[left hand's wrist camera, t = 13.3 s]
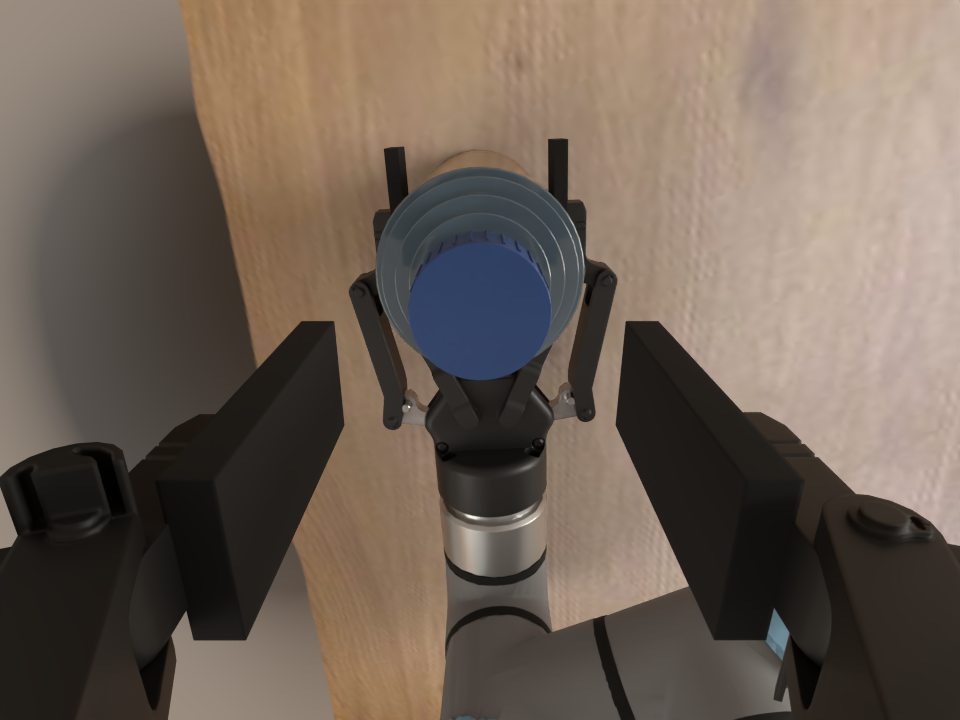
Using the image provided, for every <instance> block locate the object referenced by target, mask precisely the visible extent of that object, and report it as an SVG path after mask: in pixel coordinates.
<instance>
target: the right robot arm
mask: <svg viewBox="0 0 960 720" xmlns="http://www.w3.org/2000/svg"><path fill="white" fill-rule="evenodd" d="M384 155H385V164H386V174H387V183H388V193H389V203H390V209H380V210H378V211H377V212H376V213H375V216H374V220H373V226H374V235H375V244H376V252H377V250H378V245H379V242H380V239H381V235H382V232H383V230H384V228H385V226H386V224H387V222H388V220H389V218H390V217H391V215H392V214H393V212H394V210H395V209H396V208H397V207H398V205H399V204H400V203H401V202H402V201H403V200H404V198H405V197H406V196H408V184H407V173H406V162H405V151H404V147H390V148H386V149H384ZM548 191H549V193H550V194H551V195H552V196H553V197H554V198H555V199H556V200H557V201H558V202H559V203H560V204H561V205H562V207H563V208H564V209H565V211H566V212H567V213H568V215H569V217H570V219H571V220H572V222H573V224H574V226H575V228H576V231H577V233H578V236H579V238H580V242H581V246H582V250H583V257H584V283H586V284H587V285H586V289H585V294H584V298H583V303H582V308H581V312H580V317H579V321H578V326H577V331H576V335H575V340H574V344H573V349H572V354H571V358H570V363H569V369H568V383H564V384H563V385H561V386H560V388H559V392H558V396H557V397H556V398H555V399H554V400H552V401H549V400H548V398H547V397H546V396H545V395H544V394H543V392H542V391H541V390H540V389H539V388H538V386H537V385H536V383H537V380H538V378H539V376H540V373H541V369H542V365H543V363H544V361H545V359H546V357H547V355H548V353H549V351H550V348H551V346H552V344H553V343H552V344H551V345H550V346H549V347H548V348H547V349H546V350H544V351H543V352H542V353H540V354H539V355H537V356H536V357H534V358H532V359H531V360H530V361H529V362H528V363H527V364H526V365H524V366H523V367H522V368H520V369H518V370H517V371H515V372H513V373H511V374H508V375H506V376H503V377H500V378H496V379H490V380H469V379H464V378H460V377H457V376H454V375H451V374H449V373H447V372H445V371H443V370H442V369H440V368H438V367H437V366H436V365H434V364H433V363H432V362H431V361H430V360H429V359H428V358H426V357H424V356H423V355H422V357H423V358H424V360H425V362H426V363H427V365H428V367H429V368H430V370H431V372H432V376H433V379H434V381H435V383H436V384H437V386H438V388H439V390H438V392H437V393H436V395H435V396H434V398H433V399H432V400H431V402H430V403H429V405H428V406H424V405H422V404H421V403H420V402H419V400H418V396H417V394H416V393H415V392H414V391H413V390H411V389H409V390H408V389H407V378H406V374H405V370H404V367H403V364H402V361H401V358H400V355H399V351H398V348H397V345H396V342H395V339H394V336H393V333H392V329H391V326H390V323H389V320H388V317H387V315H386V313H385V311H384V309H383V306H382V304H381V301H380V298H379V293H378V289H377V283H376V269H375V270H373V271H371V272H368V273H363V274H361V275H360V276H359V277H358V278H357V279H356V281H355V282H354V283H353V284H352V286H351V287H350V289H349V295H350V298H351V301H352V304H353V307H354V310H355V313H356V316H357V318H358V321H359V324H360V327H361V330H362V333H363V336H364V339H365V342H366V345H367V348H368V351H369V354H370V357H371V360H372V363H373V366H374V369H375V372H376V375H377V378H378V380H379V383H380V386H381V389H382V392H383V395H384V412H383V424H384V425H385V427H386V428H388V429H390V430H396V429H398V428H399V427H400V426H401V423H405V424H415V425H425V427H426V429H427V431H428V432H429V433H430V435H431V436H432V438H433V441H434V446H435V457H436V468H437V480H438V490H439V493H440V503H439V504H440V514H441V524H442V534H443V543H444V553H445V558H446V576H447V594H448V610H447V625H446V640H445V652H446V653H445V657H446V667H445V677H444V687H443V697H442V707H441V717H440V720H792V713H791V706H790V699H789V692H788V688H786V690H785V693H784V697H783V701H782V702H779V701H776V700H773V699H774V692H775V686H776V682H777V678H778V674H779V671H780V667H781V663H782V659H783V655H784V652H785V648H786V644H787V640H788V636H789V631H788V630H787V628H786V626H785V625H784V623H783V622H782V620H781V618H780V617H779V615H778V613H777V612H776V610H775V608H774V611H773V615H772V619H771V623H770V627H769V631H768V635H767V639H766V640H714V639H713V637H712V635H711V633H710V630H709V628H708V626H707V624H706V622H705V619H704V617H703V615H702V613H701V611H700V609H699V606H698V604H697V602H696V600H695V598H694V595H693V593H692V591H691V589H690V587H689V586H688V587H685V588H683V589H680V590H677V591H674V592H672V593H669V594H666V595H663V596H660V597H658V598H655V599H652V600H649V601H646V602H644V603H641V604H638V605H635V606H632V607H630V608H627V609H624V610H621V611H618V612H616V613H613V614H610V615H606V616H601V617H598V618H594V619H591V620H588V621H585V622H582V623H579V624H576V625H573V626H570V627H567V628H564V629H561V630H558V631H555V632H552V625H551V618H550V611H549V604H548V592H547V568H546V543H547V500H546V493H545V489H546V436H547V433H548V431H549V429H550V427H551V426H552V424H553V421H554V420H557V419H563V418H568V417H574V416H577V417H578V419H579V420H580V421H583V422H588V421H591V420H592V419H593V418H594V416H595V406H594V399H593V392H592V386H593V382H594V378H595V373H596V369H597V365H598V361H599V357H600V352H601V348H602V344H603V340H604V336H605V331H606V327H607V323H608V319H609V314H610V310H611V306H612V302H613V298H614V293H615V289H616V285H617V277H616V275H615V274H614V272H613V271H612V270H611V269H610V268H609V267H608V266H607V265H606V264H605V263H603V262H596V261H593V260H590V259H588V258H587V257H586V209H585V206H584V204H583V202H582V201H580V200H568V139H548Z"/></svg>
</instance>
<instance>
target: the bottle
mask: <svg viewBox="0 0 960 720" xmlns="http://www.w3.org/2000/svg"><path fill="white" fill-rule="evenodd" d="M470 230H472V232H475V231H485V232H486V230H488V232H493V233H497V234H500V235H501V234H502V233H503V234H504V236H506V237H508V238H510V239H512V240H514V241H516V240H517V241H518V242H519V244H520V245H521V246H522V247H523V248H525V249H526V250H527V251H528V250H529V251H530V253H531V255H532V257H533V259H534V260H535V262H536V263H539V265H540V267H541V270H542V272H543V274H544V276H543V277H545V279H546V282H547V284H548V286H549V289H550V291H549V295H550V298H551V303H552V317H551V324H550V328H549V332H548V335H547V337H546V339H545V342H544V343H543V345H542V347H541V348H540V350H539V351H538V352H537V354H536V355H535V356H534V357H536V356H537V355H539V354H540V353H542V352H543V351H544V350H546V349H547V348H548V347H549V346H550V345H551V344H552V343H553V342H554V341H555V340H557V339H558V337H559V336H560V335H561V334H562V332H563V331H564V330H565V329H566V327H567V326H568V324H569V322H570V321H571V319H572V317H573V315H574V313H575V311H576V309H577V306H578V304H579V300H580V297H581V294H582V289H583V283H584V257H583V250H582V246H581V242H580V238H579V236H578V233H577V231H576V228H575V226H574V224H573V222H572V220H571V219H570V217H569V215H568V213H567V212H566V211H565V209H564V208H563V207H562V205H561V204H560V203H559V202H558V201H557V200H556V199H555V198H554V197H553V196H552V195H551V194H550V193H549V192H548V191H547V190H546V189H545V188H544V187H543V186H542V185H541V184H540V183H539V182H537V181H536V180H535V179H534V178H533V177H532V176H531V175H530V174H529V173H528V172H527V171H526V170H524V169H523V168H522V167H521V166H520V165H519V164H518V163H516V162H515V161H514V160H512V159H510V158H509V157H507V156H505V155H502V154H500V153H496V152H492V151H485V150H473V151H468V152H464V153H461V154H458V155H455V156H453V157H451V158H450V159H448V160H447V161H445V162H444V163H442V164H441V165H440V166H439V167H438V168H437V169H436V170H435V171H433V172H432V173H431V174H430V175H429V176H428V177H427V178H426V179H425V180H424V181H423V182H422V183H420V184H419V185H418V186H417V187H416V188H415V189H414V190H413V191H412V192H411V193H410V194H409V195H408V196H406V197H405V198H404V200H403V201H402V202H401V203H400V204H399V205H398V207H397V208H396V209H395V210H394V212H393V214H392V215H391V217H390V218H389V220H388V222H387V224H386V226H385V228H384V230H383V232H382V235H381V239H380V242H379V245H378V250H377V256H376V283H377V289H378V293H379V298H380V301H381V304H382V306H383V309H384V311H385V313H386V315H387V317H388V319H389V321H390V323H391V324H392V326H393V327H394V328H395V330H396V331H397V333H398V334H399V335H400V336H401V337H402V338H403V339H404V340H405V342H406V343H407V344H408V345H410V346H411V347H412V348H413V349H414V350H416V351H417V352H418V353H420V354H421V355H423V356H424V357H426V356H425V355H424V354H423V353H422V351H421V350H420V348H419V347H418V345H417V343H416V342H415V340H414V337H413V335H412V332H411V329H410V324H409V317H408V305H409V299H410V294H411V293H409V292H410V289H411V287H412V284H413V282H414V280H415V276H416V274H417V271H418V269H419V267H420V265H421V264H422V265H423V263H424V262H425V260H426V258H427V256H428V253H429V252H432V251H433V250H434V249H435V248H437V247H438V246H439V244H440V242H441V241H442V242H445V241H446V240H448V239H450V238H452V237H454V235H455V234H457V235H460V234H463V233H468V232H470ZM534 357H533V358H534ZM426 358H427V357H426Z"/></svg>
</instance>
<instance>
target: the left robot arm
mask: <svg viewBox="0 0 960 720" xmlns="http://www.w3.org/2000/svg"><path fill="white" fill-rule="evenodd" d="M343 427H344V417H343V406H342V396H341V386H340V376H339V366H338V355H337V345H336V335H335V325H334V321H301V322H300V324H299V325H298V326H297V327H296V328H295V329H294V330H293V331H292V332H291V333H290V334H289V335H288V337H287V338H286V339H285V340H284V341H283V342H282V343H281V344H280V345H279V346H278V347H277V348H276V349H275V351H274V352H273V353H272V354H271V355H270V356H269V357H268V358H267V359H266V360H265V361H264V362H263V364H262V365H261V366H260V367H259V368H258V369H257V370H256V371H255V372H254V373H253V375H251V377H250V378H249V379H248V380H247V381H246V382H245V383H244V384H243V385H242V386H241V387H240V388H239V390H238V391H237V392H236V393H235V394H234V395H233V396H232V397H231V398H230V399H229V400H228V401H227V402H226V404H225V405H224V406H223V407H222V408H221V409H220V410H219V411H218V412H217V413H216V414H199V415H197V416H196V417H194V418H192V419H190V420H188V421H186V422H184V423H183V424H181V425H179V426H177V427H175V428H174V429H173V430H172V431H171V432H170V433H169V434H168V435H167V436H166V437H165V438H164V439H163V440H162V441H161V442H160V443H159V446H156V447H155V448H154V449H153V450H152V451H151V452H150V453H149V454H148V455H147V456H146V459H145V460H141V461H140V462H139V463H138V464H137V465H136V466H135V467H134V468H133V469H132V470H131V471H130V472H129V473H128V469H127V466H126V462H125V458H124V454H123V451H122V450H121V449H120V448H118V447H117V446H115V445H113V444H107V443H100V442H92V443H77V444H72V445H68V446H63V447H58V448H54V449H51V450H48V451H45V452H43V453H40V454H37V455H34V456H31V457H29V458H27V459H26V460H24V461H22V462H20V463H18V464H16V465H14V466H13V467H11V468H9V469H8V470H7V471H6V472H5V473H4V474H3V475H2V476H1V477H0V488H1V490H2V493H3V496H4V499H5V501H6V504H7V507H8V510H9V512H10V515H11V518H12V521H13V523H14V526H15V529H16V532H17V535H18V537H17V538H16V540H15V542H14V543H13V545H12V547H8V548H3V549H0V720H168V714H169V708H170V701H171V694H172V687H173V680H174V674H175V667H176V655H175V648H174V644H173V640H172V637H171V635H172V633H173V631H174V630H175V628H176V626H177V625H178V623H179V621H180V620H181V618H182V617H183V615H184V613H185V612H186V611H187V615H188V619H189V623H190V627H191V631H192V635H193V639H194V640H246V639H247V637H248V635H249V632H250V630H251V628H252V626H253V624H254V622H255V619H256V617H257V615H258V613H259V611H260V609H261V606H262V604H263V602H264V600H265V598H266V595H267V593H268V591H269V589H270V587H271V584H272V582H273V580H274V578H275V576H276V574H277V571H278V569H279V567H280V565H281V563H282V560H283V558H284V556H285V554H286V552H287V549H288V547H289V545H290V543H291V541H292V539H293V536H294V534H295V532H296V530H297V528H298V525H299V523H300V521H301V519H302V517H303V514H304V512H305V510H306V508H307V506H308V504H309V501H310V499H311V497H312V495H313V493H314V490H315V488H316V486H317V484H318V482H319V479H320V477H321V475H322V473H323V471H324V469H325V466H326V464H327V462H328V460H329V458H330V455H331V453H332V451H333V449H334V447H335V444H336V442H337V440H338V438H339V436H340V434H341V431H342V429H343ZM616 427H617V429H618V431H619V434H620V436H621V438H622V440H623V442H624V444H625V447H626V449H627V451H628V453H629V455H630V458H631V460H632V462H633V464H634V466H635V469H636V471H637V473H638V475H639V477H640V479H641V482H642V484H643V486H644V488H645V490H646V493H647V495H648V497H649V499H650V501H651V504H652V506H653V508H654V510H655V512H656V514H657V517H658V519H659V521H660V523H661V525H662V528H663V530H664V532H665V534H666V536H667V539H668V541H669V543H670V545H671V547H672V549H673V552H674V554H675V556H676V558H677V560H678V563H679V565H680V567H681V569H682V571H683V574H684V576H685V578H686V580H687V582H688V584H689V587H690V589H691V591H692V593H693V595H694V598H695V600H696V602H697V604H698V606H699V609H700V611H701V613H702V615H703V617H704V619H705V622H706V624H707V626H708V628H709V630H710V633H711V635H712V637H713V639H714V640H766V639H767V635H768V631H769V627H770V623H771V619H772V615H773V611H774V608H775V610H776V612H777V613H778V615H779V617H780V618H781V620H782V622H783V623H784V625H785V626H786V628H787V630H788V631H789V636H788V640H787V644H786V648H785V652H784V655H783V659H782V663H781V667H780V671H779V674H778V678H777V682H776V686H775V692H774V699H773V700H776V701H779V702H782V701H783V697H784V693H785V690H786V688H788V692H789V699H790V706H791V713H792V720H960V546H957V545H951V544H947V542H946V541H945V539H944V537H943V535H942V534H941V533H940V532H939V531H938V530H937V529H936V527H935V526H934V525H933V524H932V523H931V522H930V521H928V520H927V519H925V518H924V517H922V516H920V515H919V514H917V513H916V512H914V511H913V510H911V509H908V508H906V507H904V506H901V505H899V504H897V503H894V502H892V501H889V500H885V499H881V498H877V497H874V496H870V495H861V494H855V493H854V492H853V491H852V490H851V489H850V488H849V487H848V486H847V485H846V484H845V483H844V482H843V481H842V480H841V479H840V478H839V477H838V476H837V475H836V474H835V473H834V472H833V471H832V470H831V469H830V468H829V467H828V466H827V465H826V464H825V463H823V462H822V461H821V460H820V459H819V458H818V457H815V454H814V453H813V452H812V451H811V450H810V449H809V448H808V447H807V446H806V445H805V444H802V443H801V440H800V439H799V438H798V437H797V436H796V435H795V434H794V433H793V432H792V431H791V430H790V429H789V428H788V427H786V426H785V425H784V424H782V423H780V422H778V421H776V420H774V419H772V418H770V417H769V416H767V415H765V414H763V413H761V412H742V411H741V410H740V409H739V408H738V407H737V406H736V405H735V404H734V402H733V401H732V400H731V399H730V398H729V397H728V396H727V395H726V394H725V393H724V392H723V391H722V390H721V388H720V387H719V386H718V385H717V384H716V383H715V382H714V381H713V380H712V379H711V378H710V377H709V375H708V374H707V373H706V372H705V371H704V370H703V369H702V368H701V367H700V366H699V365H698V364H697V362H696V361H695V360H694V359H693V358H692V357H691V356H690V355H689V354H688V353H687V352H686V351H685V349H684V348H683V347H682V346H681V345H680V344H679V343H678V342H677V341H676V340H675V339H674V338H673V337H672V335H671V334H670V333H669V332H668V331H667V330H666V329H665V328H664V327H663V326H662V325H661V324H660V322H659V321H626V325H625V335H624V345H623V355H622V366H621V376H620V386H619V396H618V406H617V417H616Z"/></svg>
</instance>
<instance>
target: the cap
mask: <svg viewBox="0 0 960 720" xmlns="http://www.w3.org/2000/svg"><path fill="white" fill-rule="evenodd" d="M543 276H544V274H543V272H542V270H541V267H540V265H539V263H536V262H535V260H534V259H533V257H532V255H531V253H530V251H529V250H528V251H527V250H526V249H525V248H523V247H522V246H521V245H520V244H519V242H518V241H517V240H516V241H514V240H512V239H510V238H508V237H506V236H504V234H503V233H502V234H501V235H500V234H497V233H493V232H488V230H486V232H485V231H475V232H472V230H470V232H468V233H463V234H460V235H457V234H455V235H454V237H452V238H450V239H448V240H446V241H445V242H442V241H441V242H440V244H439V246H438V247H437V248H435V249H434V250H433V251H432V252H429V253H428V256H427V258H426V260H425V262H424V263H423V265H422V264H421V265H420V267H419V269H418V271H417V274H416V276H415V280H414V282H413V284H412V287H411V289H410V292H409V293H411V294H410V299H409V305H408V317H409V324H410V329H411V332H412V335H413V337H414V340H415V342H416V343H417V345H418V347H419V348H420V350H421V351H422V353H423V354H424V355H425V356H426V357H427V358H428V359H429V360H430V361H431V362H432V363H433V364H434V365H436V366H437V367H438V368H440V369H442V370H443V371H445V372H447V373H449V374H451V375H454V376H457V377H460V378H464V379H469V380H490V379H496V378H500V377H503V376H506V375H508V374H511V373H513V372H515V371H517V370H518V369H520V368H522V367H523V366H524V365H526V364H527V363H528V362H529V361H530V360H531V359H532V358H533V357H534V356H535V355H536V354H537V352H538V351H539V350H540V348H541V347H542V345H543V343H544V342H545V339H546V337H547V335H548V332H549V328H550V324H551V317H552V303H551V298H550V295H549V291H550V289H549V286H548V284H547V282H546V279H545V277H543Z"/></svg>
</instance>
